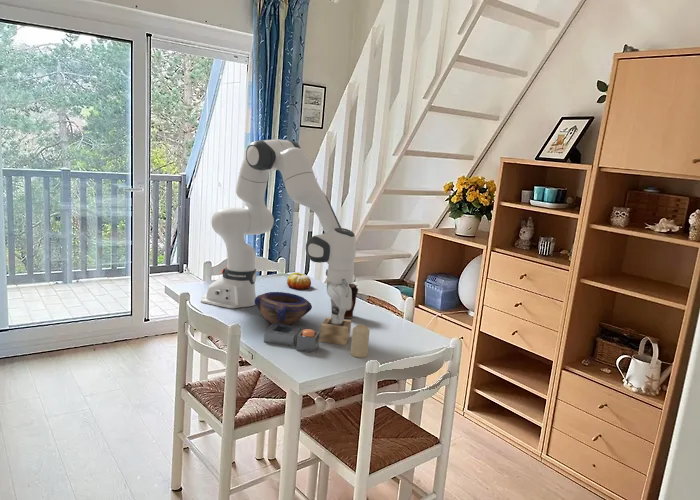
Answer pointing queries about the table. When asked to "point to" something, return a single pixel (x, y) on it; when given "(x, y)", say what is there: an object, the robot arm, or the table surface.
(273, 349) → the table surface
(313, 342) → the button housing
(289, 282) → the fruit
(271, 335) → the socket block
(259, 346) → the table surface
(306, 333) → the button
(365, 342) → the candle
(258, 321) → the table surface
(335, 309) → the steel peg
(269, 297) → the bowl
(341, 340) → the wooden box
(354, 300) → the coffee cup
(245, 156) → the robot arm
